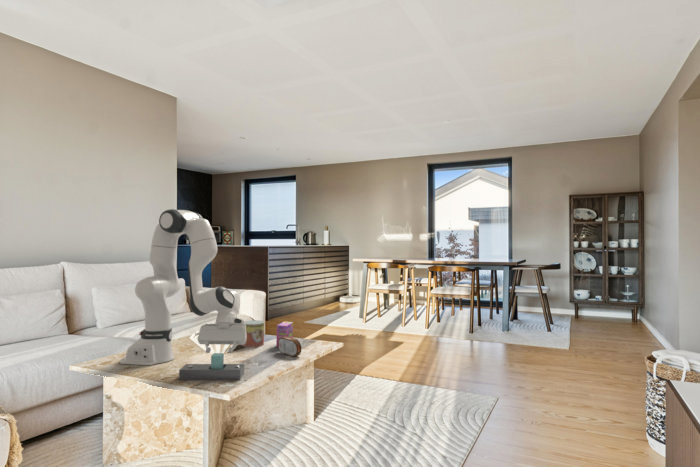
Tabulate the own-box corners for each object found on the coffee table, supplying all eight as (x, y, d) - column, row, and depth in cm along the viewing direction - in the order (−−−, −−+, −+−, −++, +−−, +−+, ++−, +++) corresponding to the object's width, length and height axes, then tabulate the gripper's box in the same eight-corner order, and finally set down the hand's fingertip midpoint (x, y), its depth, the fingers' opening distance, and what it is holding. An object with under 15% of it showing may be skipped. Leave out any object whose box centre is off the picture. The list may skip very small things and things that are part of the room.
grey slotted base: (179, 380, 167) (179, 368, 167) (185, 373, 175) (186, 363, 175) (240, 379, 168) (240, 368, 169) (244, 373, 176) (244, 362, 177)
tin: (301, 357, 202) (302, 339, 203) (296, 358, 200) (297, 340, 200) (281, 351, 212) (282, 334, 213) (276, 352, 210) (277, 335, 210)
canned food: (249, 348, 217) (249, 325, 217) (238, 344, 226) (238, 322, 226) (267, 345, 225) (268, 322, 225) (257, 341, 233) (257, 319, 233)
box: (286, 348, 218) (286, 325, 219) (276, 347, 219) (276, 325, 220) (293, 343, 229) (293, 321, 229) (283, 343, 230) (283, 321, 230)
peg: (210, 378, 170) (211, 356, 170) (213, 375, 174) (213, 353, 174) (220, 378, 170) (221, 355, 170) (223, 375, 174) (223, 353, 174)
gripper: (200, 319, 183) (192, 348, 173) (247, 320, 184) (242, 348, 174) (203, 327, 187) (195, 356, 177) (249, 328, 188) (244, 356, 178)
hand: (219, 352), depth 176 cm, fingers open, 8 cm apart
